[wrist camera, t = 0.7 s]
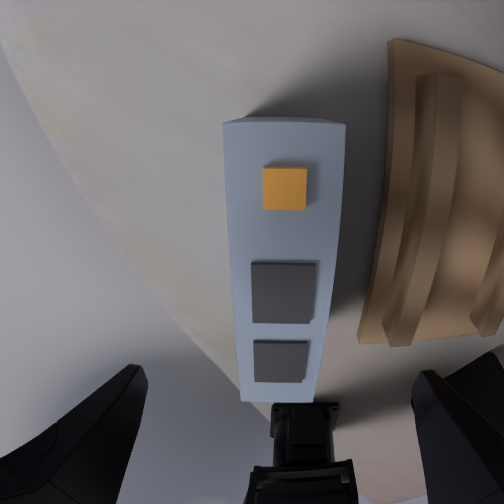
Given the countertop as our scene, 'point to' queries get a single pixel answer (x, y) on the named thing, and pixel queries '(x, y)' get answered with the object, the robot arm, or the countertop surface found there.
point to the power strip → (282, 248)
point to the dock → (439, 202)
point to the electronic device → (482, 387)
